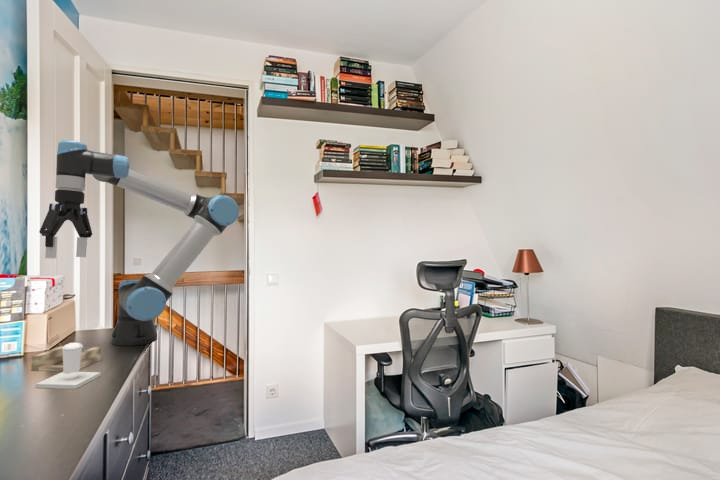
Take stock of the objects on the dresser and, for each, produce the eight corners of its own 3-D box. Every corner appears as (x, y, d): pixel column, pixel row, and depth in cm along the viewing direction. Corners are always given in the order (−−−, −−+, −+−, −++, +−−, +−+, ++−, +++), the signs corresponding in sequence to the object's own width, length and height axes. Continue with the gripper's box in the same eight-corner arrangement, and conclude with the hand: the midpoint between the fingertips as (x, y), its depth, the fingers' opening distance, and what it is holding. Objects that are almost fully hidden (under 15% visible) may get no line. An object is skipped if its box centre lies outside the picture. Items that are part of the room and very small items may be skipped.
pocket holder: (61, 358, 124) (62, 345, 124) (100, 359, 125) (101, 346, 125) (31, 370, 112) (31, 356, 112) (74, 371, 113) (75, 357, 113)
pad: (63, 375, 110) (63, 371, 110) (100, 376, 110) (100, 372, 110) (35, 387, 100) (35, 384, 100) (75, 389, 100) (76, 385, 100)
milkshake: (54, 378, 104) (56, 340, 104) (79, 373, 108) (81, 337, 108) (58, 382, 101) (60, 343, 101) (83, 377, 105) (85, 340, 105)
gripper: (84, 195, 137) (80, 256, 137) (26, 183, 112) (22, 258, 112) (106, 196, 138) (103, 256, 137) (53, 185, 113) (49, 259, 112)
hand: (66, 257), depth 125 cm, fingers open, 13 cm apart
